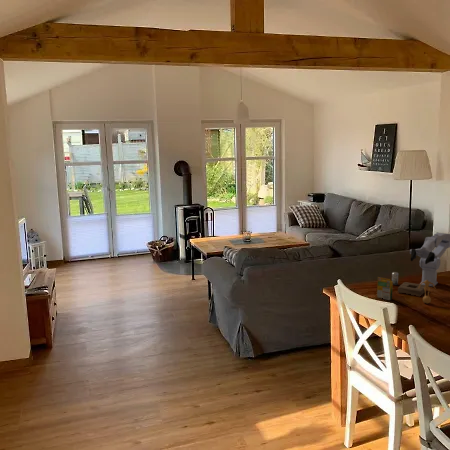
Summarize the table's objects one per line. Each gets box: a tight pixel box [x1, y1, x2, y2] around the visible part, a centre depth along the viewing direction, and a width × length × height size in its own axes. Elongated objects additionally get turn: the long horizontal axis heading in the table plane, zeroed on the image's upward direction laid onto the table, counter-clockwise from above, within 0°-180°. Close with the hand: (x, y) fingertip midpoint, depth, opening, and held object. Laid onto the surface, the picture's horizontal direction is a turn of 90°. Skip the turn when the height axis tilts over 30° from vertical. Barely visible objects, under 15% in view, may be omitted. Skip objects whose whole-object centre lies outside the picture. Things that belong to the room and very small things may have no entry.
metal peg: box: [391, 271, 399, 286], centre depth 274 cm, size 3×3×7 cm
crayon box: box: [376, 276, 394, 301], centre depth 251 cm, size 7×3×12 cm, turn 48°
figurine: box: [418, 280, 437, 304], centre depth 243 cm, size 8×6×12 cm
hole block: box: [397, 281, 426, 297], centre depth 261 cm, size 12×12×3 cm
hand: (418, 260), depth 256 cm, fingers open, 7 cm apart
